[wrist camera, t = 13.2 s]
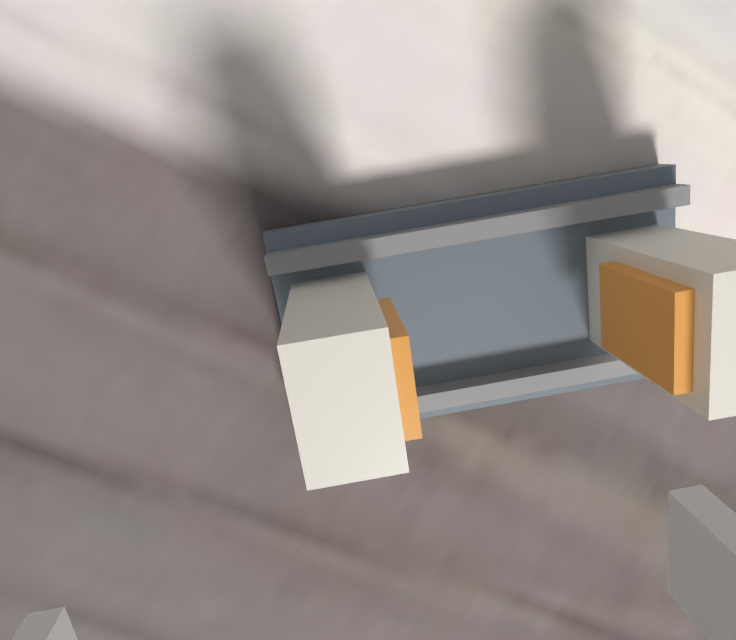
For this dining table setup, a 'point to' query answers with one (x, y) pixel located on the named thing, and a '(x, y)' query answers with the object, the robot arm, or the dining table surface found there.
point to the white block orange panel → (347, 381)
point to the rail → (540, 289)
